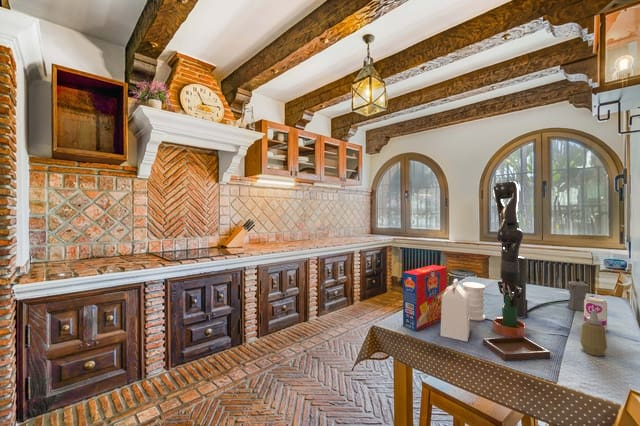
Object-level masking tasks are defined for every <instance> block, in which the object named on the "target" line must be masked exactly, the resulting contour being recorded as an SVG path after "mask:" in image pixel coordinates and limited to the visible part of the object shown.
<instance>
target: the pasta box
mask: <svg viewBox="0 0 640 426" xmlns="http://www.w3.org/2000/svg"><path fill="white" fill-rule="evenodd" d="M447 277H448V275H447V266H442V265H438V264H437V265H436V264H431V265H426V266H423V267H419V268H414V269H411V270H410V269H409V270H405V271H403V272H402V326H403V327H405V328H408V329H411V330H413V331H415V332H418V331H420V330H422V329H424V328H427V327H429V326H431V325H433V324H435V323H438V322H439V321H441V309H442V296H443V294H444V292H445V291H446V290H445V289H446V288H447V284H448V283H447Z"/></svg>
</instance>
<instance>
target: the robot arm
mask: <svg viewBox="0 0 640 426" xmlns="http://www.w3.org/2000/svg"><path fill="white" fill-rule="evenodd" d="M492 190H493V196H494V202H495V206H496V212H497V220H498V230H497V232H496V239H497V241H498V242H499V243H500V244H501V250H500V276H499V277H500V279H501V280H497V287H498V290H499V293H500V294H501V295H502V296H503V305H504V304H505V295H506V294H510V306H511V307H516V308H517V319H518V318H519V319H520V318H521V319H526V318H528V313H529V312H531V311H532V310H534V309H536V308H538V307H541V306H545V305H549V304H555V303H556V304H557V303H563V302H569V299H561V300H560V299H559V300H553V301H548V302H547V301H546V302H544V303H543V302H542V303H540V304H537V305H534V306H533V307H530V308H529V309H528V303H529V302H528V299H527V282H528V275H529V274H528V273H529V261H528V259H527V258H525V257H523V256H520V254H519V253H520V248H521V245H522V242H523V239H524V232H523V231H522V230H521V229H520V224H519V223H520V222H519V220H518V214H517V213H518V202H519V186H518V184H517V182H516V181H513V180H510V181H509V180H508V181H503V182H502V181H501V182H496V183H494V184H493V188H492ZM503 200H508V201H507V203H506V204H504V202H503ZM513 295H514V296H513ZM586 297H587V296H585V298H586ZM588 297H595V296H594V295H590V296H588Z"/></svg>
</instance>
